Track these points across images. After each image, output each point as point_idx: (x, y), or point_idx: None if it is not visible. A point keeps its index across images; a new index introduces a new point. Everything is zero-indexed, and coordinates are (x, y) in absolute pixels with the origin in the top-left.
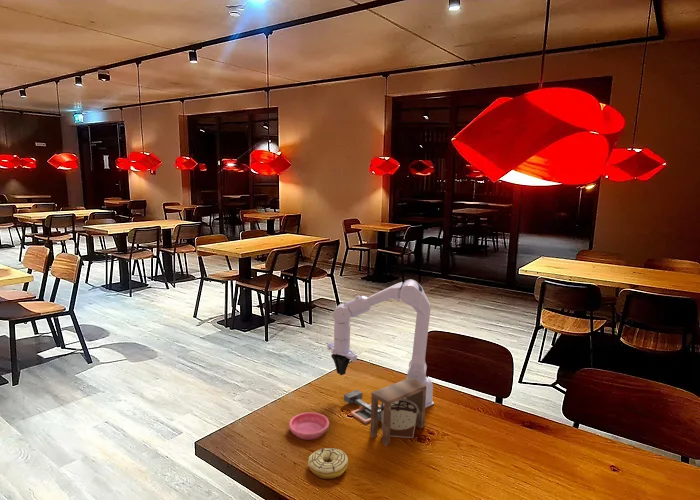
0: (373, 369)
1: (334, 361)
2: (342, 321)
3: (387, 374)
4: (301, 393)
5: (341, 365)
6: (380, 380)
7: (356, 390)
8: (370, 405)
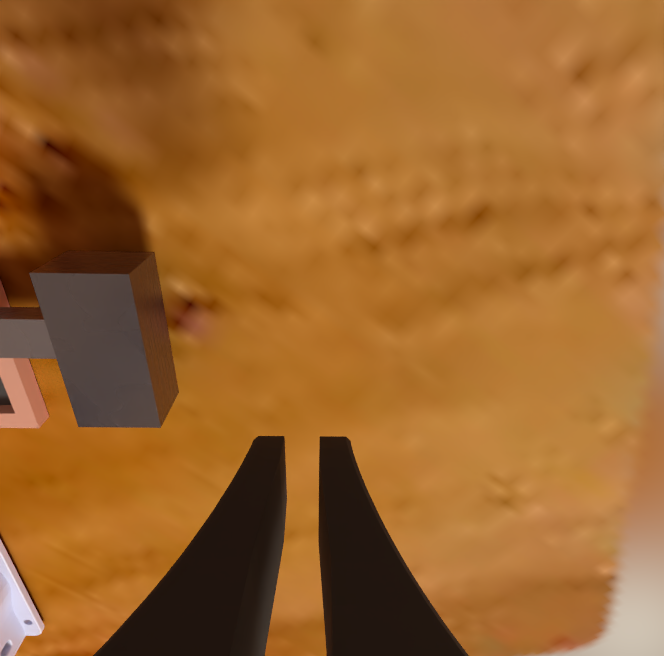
0: None
1: (415, 628)
2: None
3: None
4: (633, 4)
5: (138, 618)
6: (314, 601)
7: (150, 416)
8: (2, 379)
